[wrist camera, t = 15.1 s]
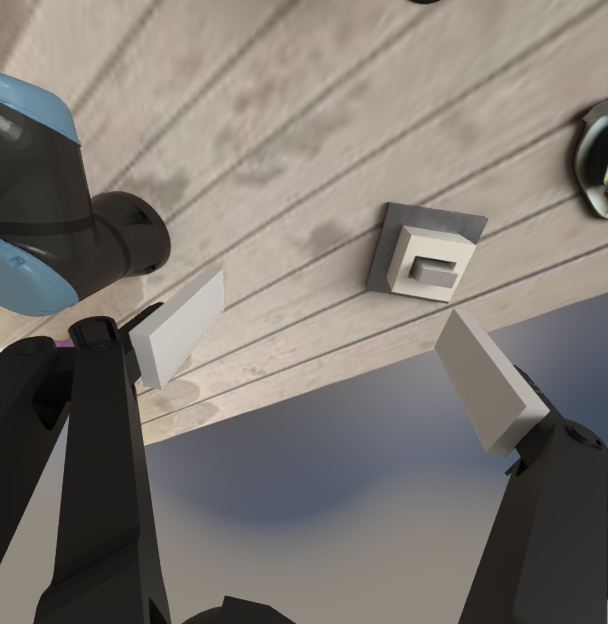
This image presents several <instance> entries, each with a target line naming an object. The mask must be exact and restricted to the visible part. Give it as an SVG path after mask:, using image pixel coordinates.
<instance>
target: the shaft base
mask: <svg viewBox="0 0 608 624" xmlns="http://www.w3.org/2000/svg"><path fill="white" fill-rule="evenodd" d="M487 221H488V218H486V217H483V216H476V215H470V214H464V213H457V212H451V211H444V210H438V209H432V208H425V207H419V206H412V205H406V204H399V203H393V202H388V206H387V209H386V213H385V217H384V220H383V224H382V227H381V231H380V235H379V238H378V242H377V245H376V249H375V253H374V256H373V260H372V263H371V267H370V271H369V274H368V278H367V281H366V285H365V288H366V290H371V291H377V292H383V293H388V294H394V295H400V296H406V297H412V298H417V299H423V300H429V301H435V302H441V303H447V304H448V302H447V301H442V300H436V299H430V298H424V297H419V296H413V295H407V294H401V293H396V292H392V291H391V288H390V285H389V283H388V280H387V274H388V271H389V268H390V264H391V261H392V258H393V255H394V252H395V249H396V246H397V243H398V240H399V236H400V233H401V230H402V227H403V226H409V227H415V228H422V229H428V230H434V231H440V232H446V233H452V234H458V235H461V236H463V237H464V238H466V239H467V240H469V241H470V242H472V243H473V244H475V245H476V244H477V242H478V240H479V238H480V236H481V233H482V231H483V229H484V227H485V225H486V223H487ZM410 270H411V272H412V274H413V275H414V277H415V279H416V280H417V282H418V283H421V284H427V285H433V286H439V287H444V288H450V289H452V287H453V285H454V283H455V281H456V279H457V277H458V275H459V274H458V273H457V272H456V271H455V270H454V269H453V268H452V267H451V266H450V265H449V264H448V263H447V262H446V261H445V260H439V259H433V258H427V257H421V256H415V258H414V261H413V263H412V266H411V269H410Z"/></svg>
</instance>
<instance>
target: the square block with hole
mask: <svg viewBox="0 0 608 624" xmlns="http://www.w3.org/2000/svg"><path fill="white" fill-rule="evenodd" d="M475 248H476V245H475V244H473V243H472V242H470V241H469V240H467V239H466V238H464V237H463V236H461V235H458V234H452V233H446V232H440V231H434V230H428V229H422V228H415V227H409V226H403V227H402V230H401V233H400V236H399V240H398V243H397V246H396V249H395V252H394V255H393V258H392V261H391V264H390V268H389V271H388V274H387V280H388V283H389V285H390V288H391V291H392V292H396V293H401V294H407V295H413V296H419V297H424V298H430V299H436V300H442V301H447V302H449V301H450V299H451V297H452V295H453V293H454V291H455V289H456V287H457V285H458V283H459V281H460V279H461V277H462V275H463V272H464V270H465V268H466V266H467V264H468V262H469V260H470V258H471V256H472V254H473V252H474V250H475ZM415 256H421V257H427V258H433V259H439V260H445V261H446V262H447V263H448V264H449V265H450V266H451V267H452V268H453V269H454V270H455V271H456V272H457V273H458V274H459V275H458V277H457V279H456V281H455V283H454V285H453V287H452V289H450V288H444V287H439V286H433V285H427V284H421V283H418V282H417V280H416V279H415V277H414V275H413V274H412V272H411V270H410V269H411V266H412V263H413V261H414V258H415Z"/></svg>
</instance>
